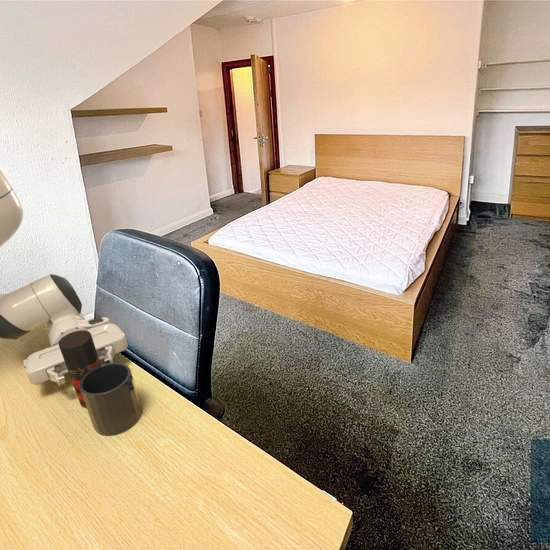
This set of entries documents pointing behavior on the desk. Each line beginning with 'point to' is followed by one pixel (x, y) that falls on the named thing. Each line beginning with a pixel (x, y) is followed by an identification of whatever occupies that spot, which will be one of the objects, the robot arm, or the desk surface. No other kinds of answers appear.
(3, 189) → the robot arm
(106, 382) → the pen pot
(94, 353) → the deodorant
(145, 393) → the desk surface
